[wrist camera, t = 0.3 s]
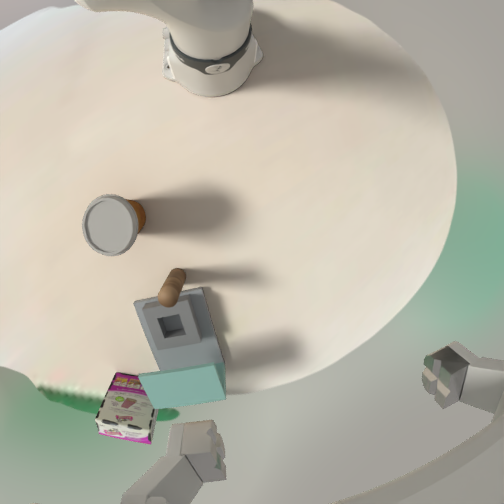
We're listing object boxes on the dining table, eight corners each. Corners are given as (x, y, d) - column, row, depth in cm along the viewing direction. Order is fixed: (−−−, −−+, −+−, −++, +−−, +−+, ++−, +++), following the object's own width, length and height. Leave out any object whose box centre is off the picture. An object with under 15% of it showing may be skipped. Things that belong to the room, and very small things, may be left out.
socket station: (135, 300, 56) (116, 328, 44) (201, 286, 56) (196, 313, 45) (163, 373, 60) (154, 409, 48) (224, 363, 60) (226, 399, 49)
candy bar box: (117, 387, 60) (97, 434, 44) (115, 371, 59) (93, 418, 43) (162, 395, 61) (151, 446, 45) (162, 379, 60) (149, 430, 44)
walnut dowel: (167, 270, 55) (155, 290, 44) (183, 266, 55) (174, 286, 44) (172, 286, 56) (161, 309, 45) (187, 282, 56) (180, 305, 45)
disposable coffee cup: (114, 185, 50) (87, 187, 39) (160, 200, 52) (143, 205, 40) (102, 233, 52) (74, 247, 40) (146, 249, 54) (127, 266, 42)
